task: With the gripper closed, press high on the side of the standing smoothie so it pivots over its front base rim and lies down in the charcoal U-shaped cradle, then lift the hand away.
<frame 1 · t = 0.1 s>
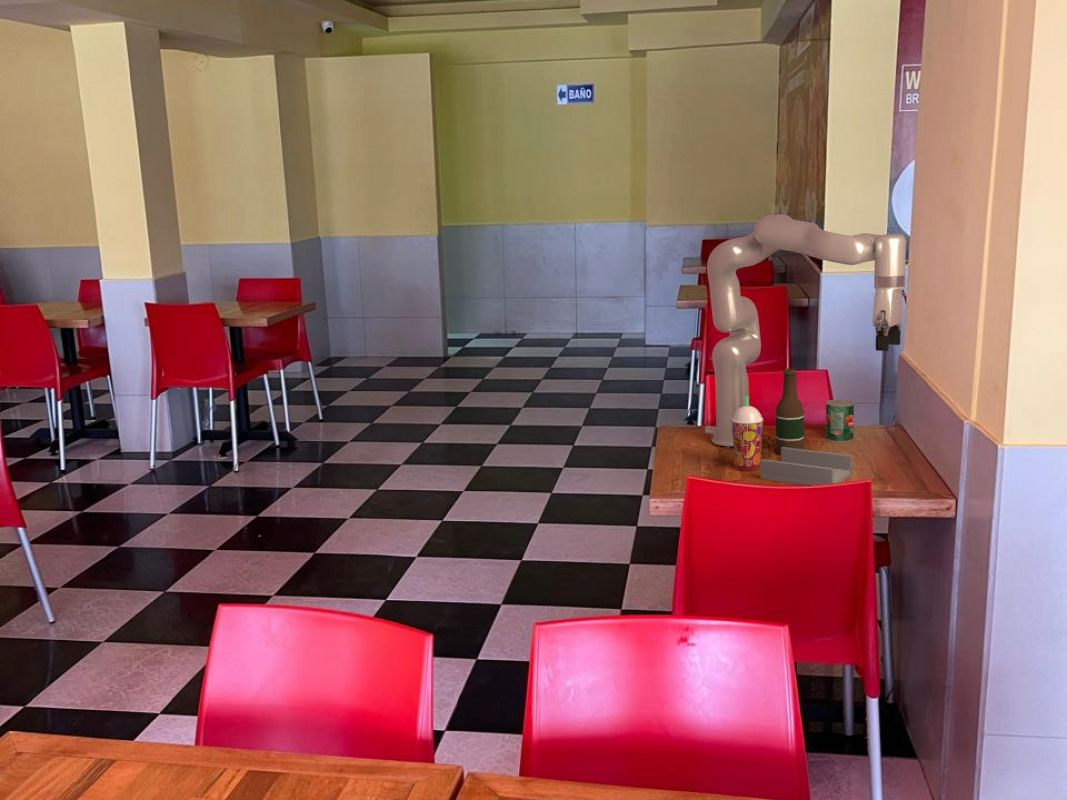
hand: (888, 347, 265), 31 cm above the table, tool pointing down, fingers open, 9 cm apart
canned tomato: (839, 439, 297), on the table
smoothie: (747, 468, 273), on the table
cradle: (806, 476, 263), on the table
beer bottle: (789, 453, 285), on the table
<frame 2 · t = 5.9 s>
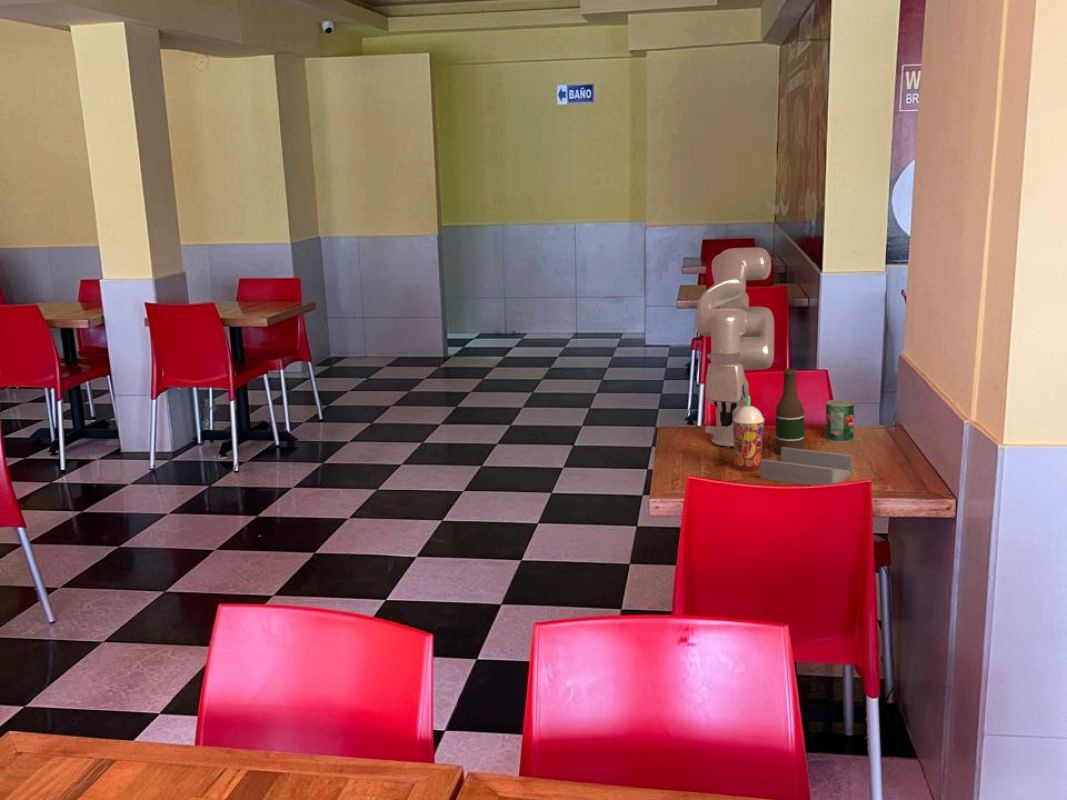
hand: (726, 425, 274), 11 cm above the table, tool pointing down, fingers closed
smoothie: (747, 468, 273), on the table, touching gripper
everything else where it was.
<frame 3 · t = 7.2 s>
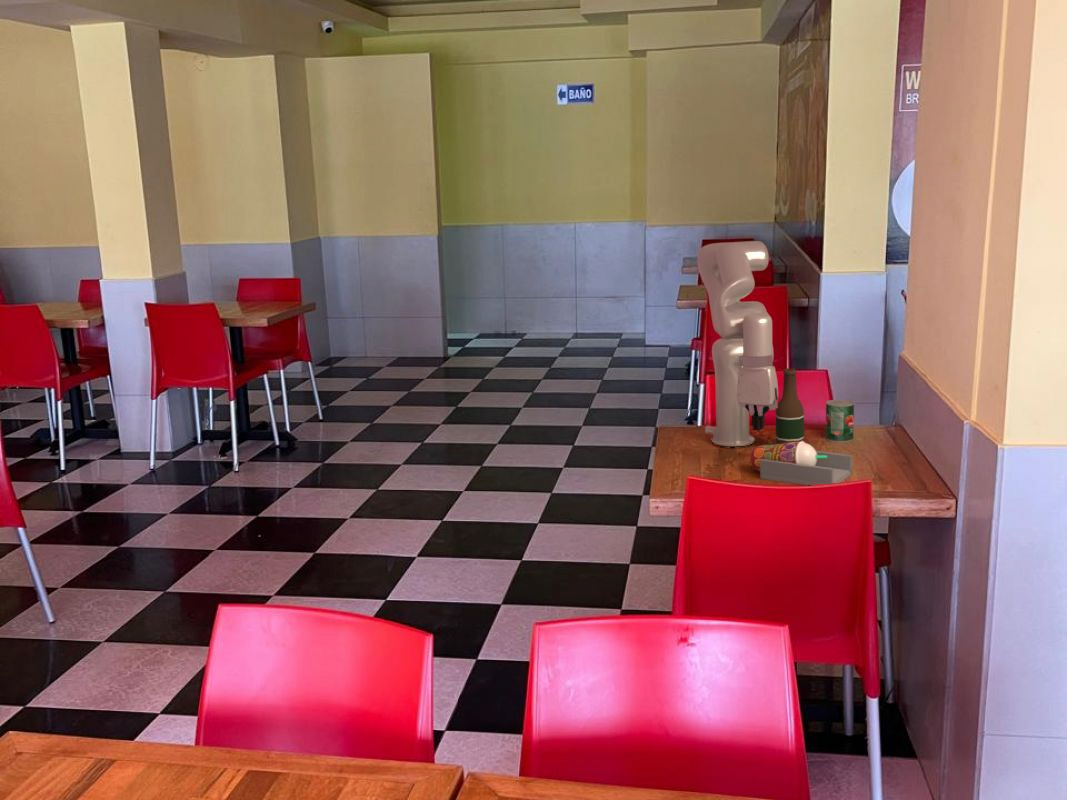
hand: (758, 429, 268), 11 cm above the table, tool pointing down, fingers closed
smoothie: (754, 458, 270), point 3 cm above the table, touching cradle
everything else where it was.
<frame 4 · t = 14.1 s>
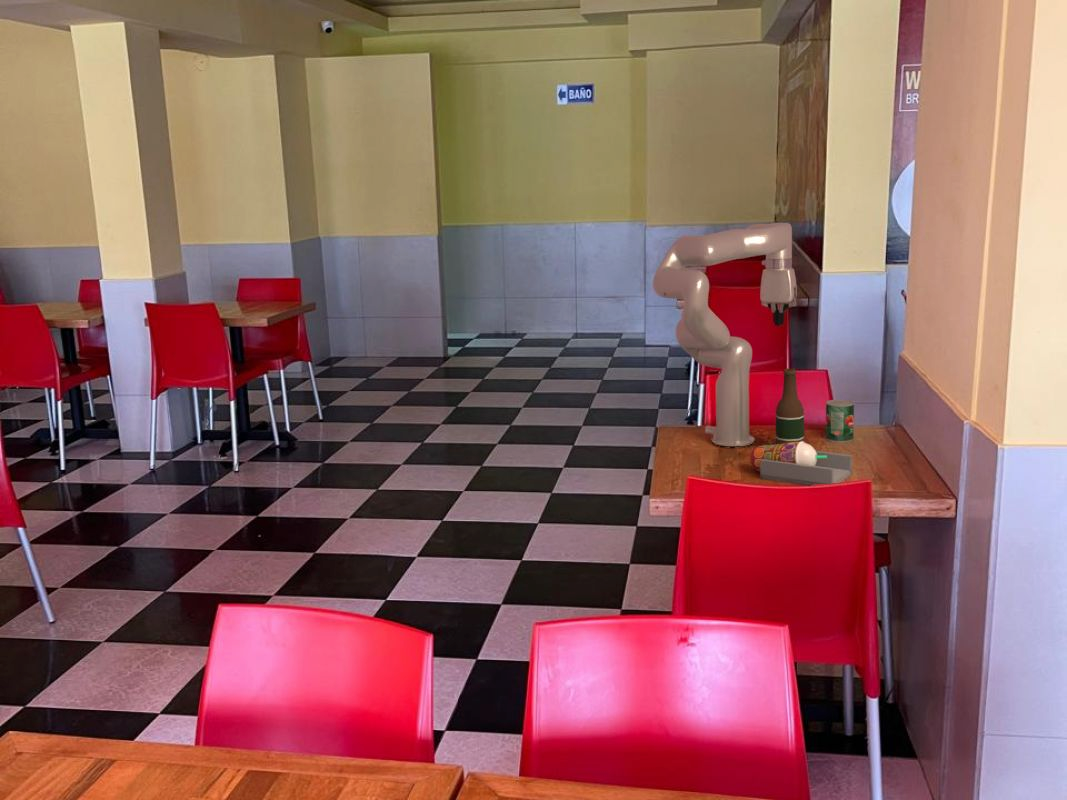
hand: (778, 325, 306), 32 cm above the table, tool pointing down, fingers closed
nothing on the table moved.
at the end: smoothie tilted 81°; smoothie touching cradle, table; smoothie inside the target area (1.9 cm from its centre), point 3.2 cm above the table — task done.
